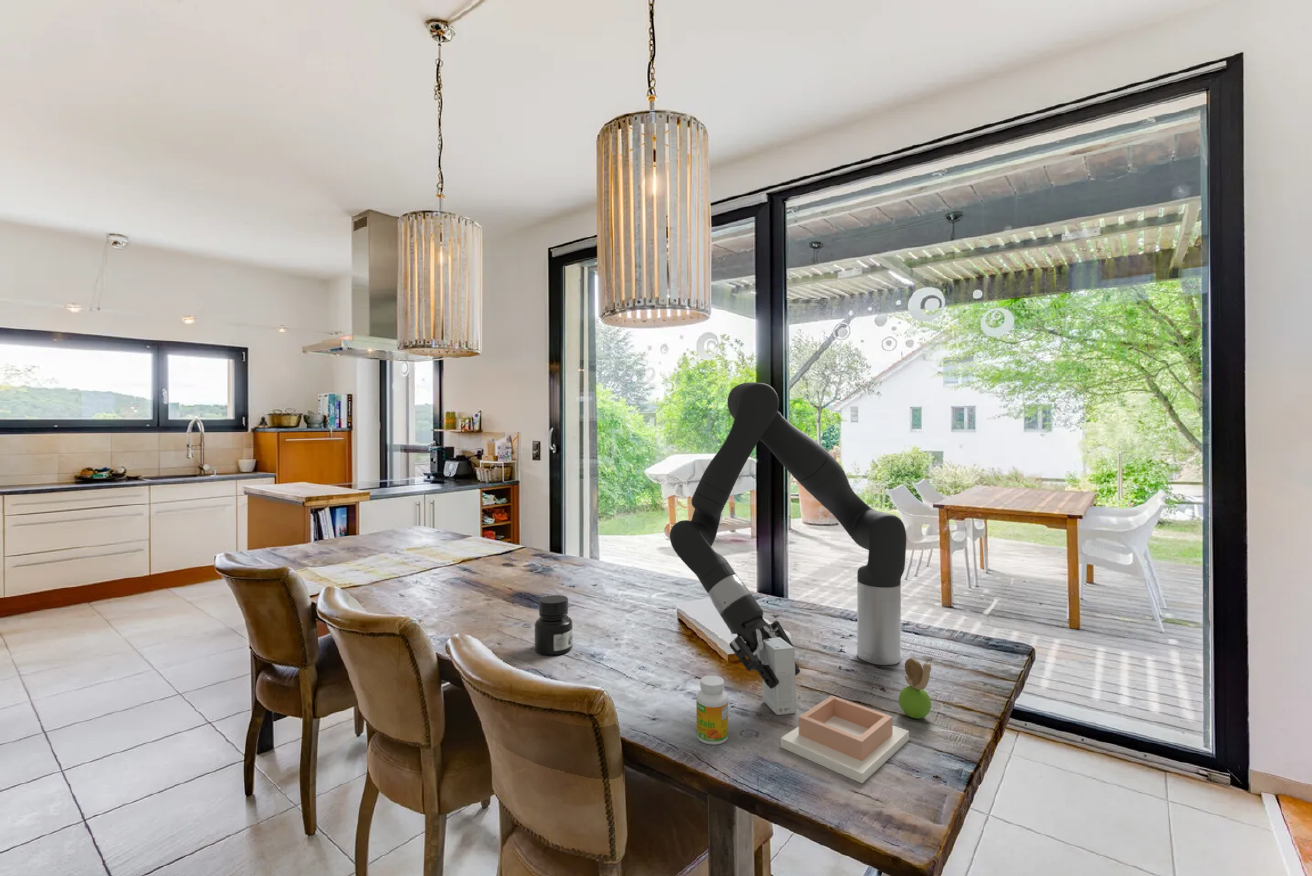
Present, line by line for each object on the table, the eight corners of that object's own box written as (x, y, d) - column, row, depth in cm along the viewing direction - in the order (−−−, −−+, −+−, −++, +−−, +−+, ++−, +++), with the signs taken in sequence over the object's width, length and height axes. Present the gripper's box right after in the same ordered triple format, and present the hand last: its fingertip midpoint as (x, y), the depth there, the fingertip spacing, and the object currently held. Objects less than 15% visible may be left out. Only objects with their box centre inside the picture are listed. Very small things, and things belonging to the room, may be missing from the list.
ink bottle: (564, 658, 133) (563, 606, 133) (527, 655, 135) (527, 604, 135) (578, 643, 143) (577, 594, 143) (544, 640, 145) (543, 592, 144)
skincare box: (797, 713, 107) (797, 647, 107) (775, 716, 106) (774, 650, 106) (782, 698, 113) (782, 636, 113) (760, 701, 112) (760, 638, 112)
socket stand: (832, 711, 108) (832, 687, 108) (908, 740, 98) (908, 713, 98) (780, 747, 96) (780, 720, 96) (862, 783, 86) (862, 753, 86)
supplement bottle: (690, 739, 98) (690, 682, 98) (705, 726, 103) (705, 671, 103) (719, 749, 95) (718, 690, 95) (733, 734, 100) (733, 678, 100)
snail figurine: (916, 729, 102) (917, 660, 101) (892, 712, 108) (892, 647, 108) (942, 724, 103) (942, 657, 103) (916, 707, 109) (916, 644, 109)
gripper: (723, 600, 110) (776, 682, 101) (767, 586, 120) (819, 659, 112) (701, 622, 114) (751, 702, 105) (746, 606, 124) (794, 678, 115)
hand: (786, 680), depth 109 cm, fingers closed on skincare box, 6 cm apart
